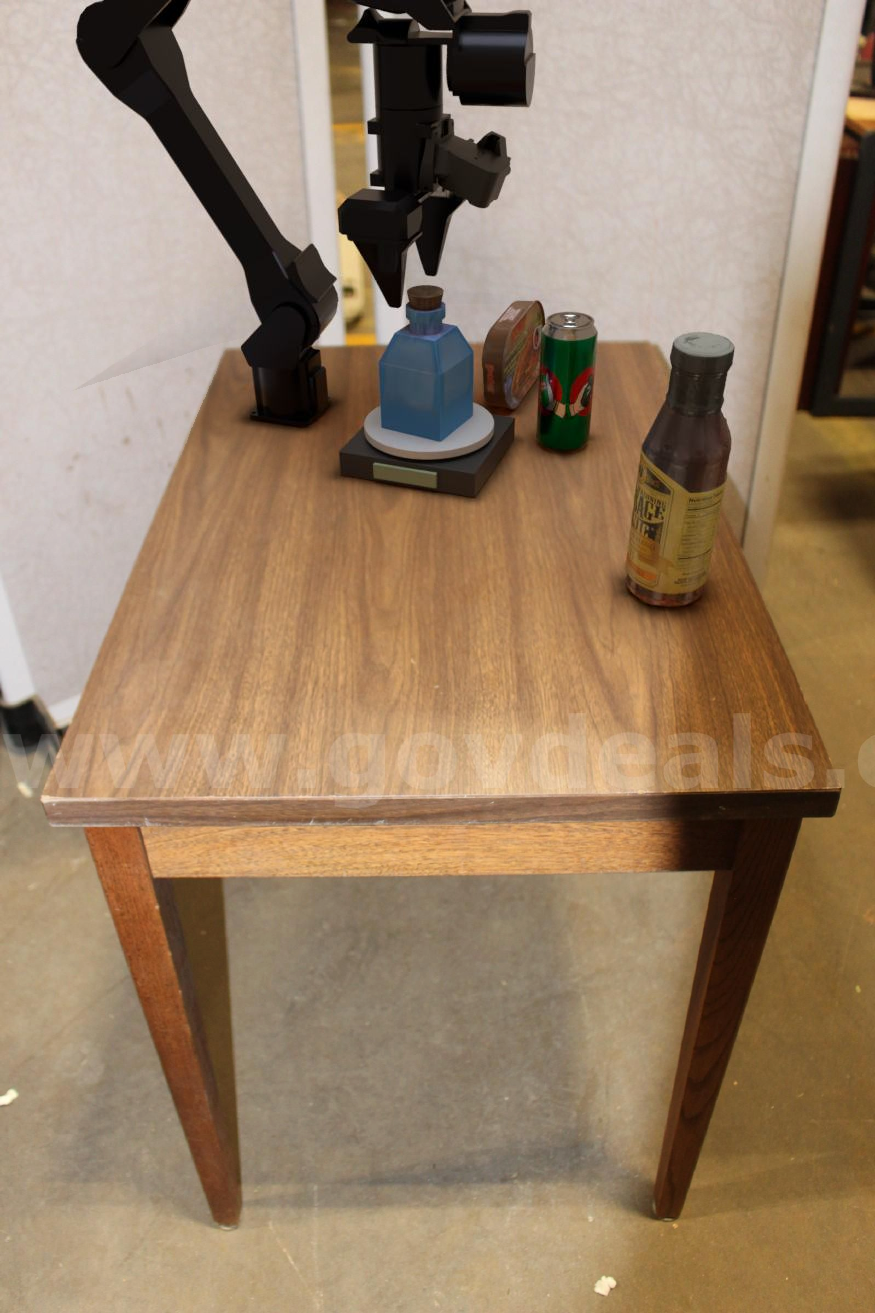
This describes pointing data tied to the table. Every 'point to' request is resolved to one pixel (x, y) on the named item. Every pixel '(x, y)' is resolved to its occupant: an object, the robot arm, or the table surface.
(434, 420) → the perfume bottle
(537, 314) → the tin
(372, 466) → the scale
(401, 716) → the table surface
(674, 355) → the sauce bottle
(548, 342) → the soda can
